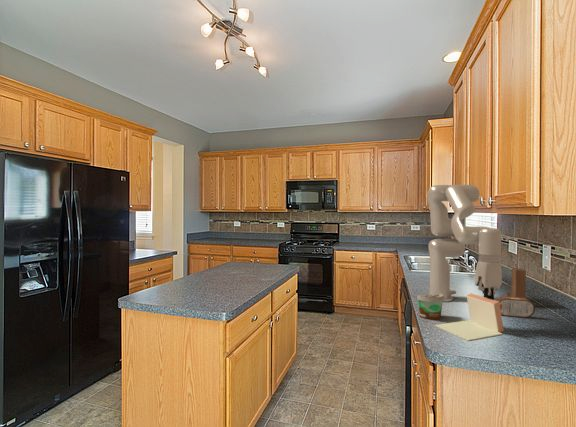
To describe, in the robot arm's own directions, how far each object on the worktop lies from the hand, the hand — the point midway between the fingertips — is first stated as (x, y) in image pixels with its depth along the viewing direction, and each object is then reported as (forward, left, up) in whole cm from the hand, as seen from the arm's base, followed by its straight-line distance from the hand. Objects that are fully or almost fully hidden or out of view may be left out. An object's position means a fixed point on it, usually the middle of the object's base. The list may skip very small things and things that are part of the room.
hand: (488, 304), depth 125 cm
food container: (+14, -15, -9) cm, 22 cm away
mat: (+11, 0, -9) cm, 14 cm away
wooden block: (-42, -17, -9) cm, 46 cm away
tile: (+1, 0, -9) cm, 9 cm away
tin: (-23, -5, -10) cm, 25 cm away
